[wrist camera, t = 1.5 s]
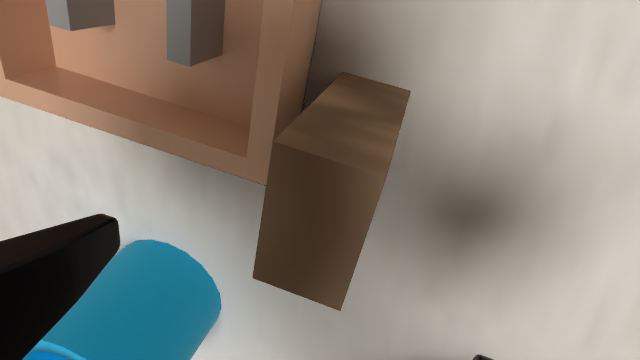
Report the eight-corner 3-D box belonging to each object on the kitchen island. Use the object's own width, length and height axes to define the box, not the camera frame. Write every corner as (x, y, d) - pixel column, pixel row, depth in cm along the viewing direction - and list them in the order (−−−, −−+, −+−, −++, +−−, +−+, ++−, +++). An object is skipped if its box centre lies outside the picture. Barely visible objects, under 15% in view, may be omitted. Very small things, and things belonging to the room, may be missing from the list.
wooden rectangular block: (410, 91, 16) (386, 177, 9) (377, 188, 19) (340, 311, 12) (343, 72, 17) (273, 141, 10) (320, 169, 19) (252, 277, 12)
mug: (205, 244, 24) (109, 354, 17) (232, 335, 28) (162, 456, 21) (61, 230, 28) (-67, 316, 21) (102, 313, 31) (5, 409, 24)
